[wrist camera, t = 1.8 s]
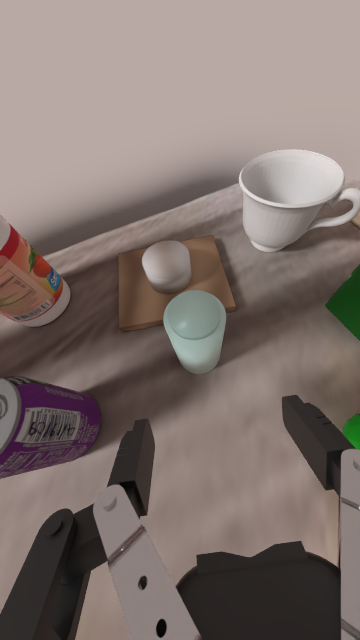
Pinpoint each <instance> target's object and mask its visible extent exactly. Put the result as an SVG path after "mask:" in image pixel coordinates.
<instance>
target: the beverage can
mask: <svg viewBox="0 0 360 640" xmlns="http://www.w3.org/2000/svg"><path fill="white" fill-rule="evenodd" d="M100 423H101V414H100V409H99V406H98V404H97V403H96V401H95V400H94V399H93V398H92V397H91V396H89V395H87V394H85V393H81V392H77V391H74V390H70V389H66V388H63V387H59V386H55V385H51V384H48V383H44V382H40V381H37V380H33V379H29V378H25V377H20V376H10V377H5V378H0V479H1V478H5V477H9V476H13V475H17V474H21V473H25V472H29V471H33V470H37V469H41V468H46V467H50V466H54V465H58V464H62V463H66V462H70V461H73V460H75V459H77V458H79V457H81V456H82V455H83V454H84V453H86V452H87V451H88V449H89V448H90V447H91V446H92V444H93V443H94V441H95V439H96V437H97V435H98V432H99V429H100Z"/></svg>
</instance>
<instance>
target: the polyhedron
mask: <svg viewBox="0 0 360 640" xmlns="http://www.w3.org/2000/svg"><path fill="white" fill-rule="evenodd" d="M343 435H344V436H345V437H346V438H347V439H348V440H349V441H350V442H351V444H352V445H353V446H354V447H355V448H356V449H357V450H360V414H359V415H355V416H354V417H352V418H351V419H350V420H348V421H347V423H346V424H345V426H344V427H343Z"/></svg>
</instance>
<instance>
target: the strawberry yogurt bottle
mask: <svg viewBox="0 0 360 640" xmlns="http://www.w3.org/2000/svg"><path fill="white" fill-rule="evenodd" d="M69 301H70V289H69V286H68V284H67V283H66V282H65V280H64V279H63V278H62V277H61V276H60V275H59V274H58V273H57V272H56V271H55V270H54V269H53V268H52V267H51V266H50V265H49V264H48V263H47V262H46V261H45V260H44V259H43V258H42V257H41V256H40V255H39V254H38V253H37V252H36V251H35V250H34V249H33V248H32V247H31V246H30V245H29V243H27V242H26V240H25V239H24V238H23V237H22V236H21V235H20V234H18V232H17V231H16V230H15V229H14V228H13V227H12V226H11V225H10V224H9V223H8V222H7V221H6V220H5V219H4V218H3V217H2V216H1V215H0V314H2V315H4V316H6V317H8V318H9V319H11V320H13V321H15V322H17V323H19V324H21V325H24V326H29V327H38V326H42V325H45V324H48V323H50V322H52V321H53V320H55V319H56V318H57V317H59V316H60V315H61V314H62V313H63V311H64V310H65V309H66V307H67V305H68V303H69Z"/></svg>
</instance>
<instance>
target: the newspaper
mask: <svg viewBox="0 0 360 640" xmlns="http://www.w3.org/2000/svg"><path fill="white" fill-rule="evenodd" d="M350 221H351V222H352V223H353V224H355V225H356V226H357V227H359V228H360V211H359V213H358V214H357V215H356V216H355V217H354V218H353V219H352V220H350Z"/></svg>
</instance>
